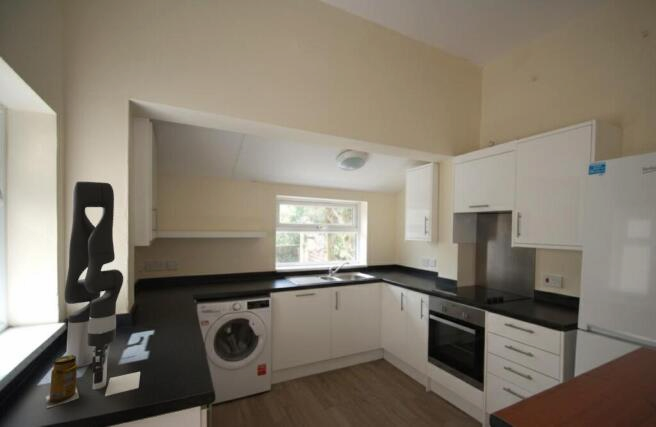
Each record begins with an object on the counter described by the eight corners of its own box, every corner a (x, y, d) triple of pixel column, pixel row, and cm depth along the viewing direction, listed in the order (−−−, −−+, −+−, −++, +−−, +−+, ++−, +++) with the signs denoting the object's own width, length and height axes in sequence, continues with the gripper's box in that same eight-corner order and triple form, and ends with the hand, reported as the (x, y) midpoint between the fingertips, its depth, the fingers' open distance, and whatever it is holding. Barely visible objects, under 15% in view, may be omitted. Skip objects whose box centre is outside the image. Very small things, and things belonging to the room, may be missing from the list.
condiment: (76, 387, 94) (78, 351, 94) (79, 398, 88) (81, 360, 88) (45, 397, 88) (48, 358, 89) (46, 409, 83) (49, 368, 83)
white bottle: (93, 385, 95) (95, 351, 96) (107, 382, 97) (108, 348, 98) (90, 390, 92) (92, 355, 92) (105, 387, 94) (107, 353, 94)
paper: (110, 378, 99) (110, 378, 99) (140, 372, 104) (140, 371, 104) (104, 396, 89) (104, 395, 89) (138, 388, 94) (138, 387, 94)
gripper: (92, 324, 100) (89, 372, 99) (83, 337, 87) (80, 393, 87) (118, 320, 103) (116, 367, 103) (112, 333, 91) (110, 386, 90)
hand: (99, 378), depth 95 cm, fingers open, 4 cm apart
